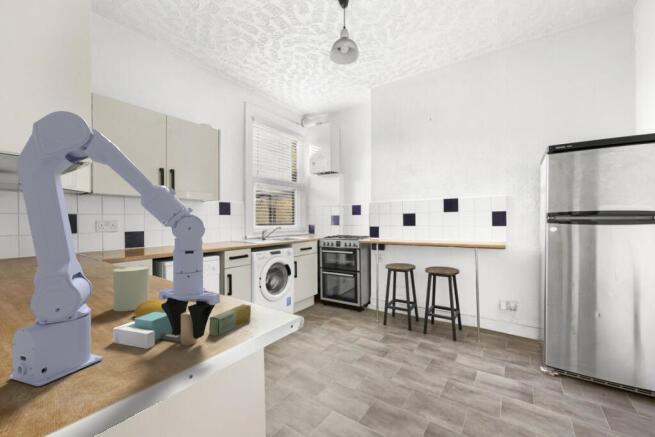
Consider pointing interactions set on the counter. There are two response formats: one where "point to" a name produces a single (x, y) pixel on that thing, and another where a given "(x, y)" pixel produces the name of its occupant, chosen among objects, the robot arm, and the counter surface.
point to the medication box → (229, 319)
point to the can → (130, 287)
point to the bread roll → (148, 308)
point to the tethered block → (167, 327)
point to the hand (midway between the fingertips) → (188, 335)
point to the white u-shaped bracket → (133, 336)
